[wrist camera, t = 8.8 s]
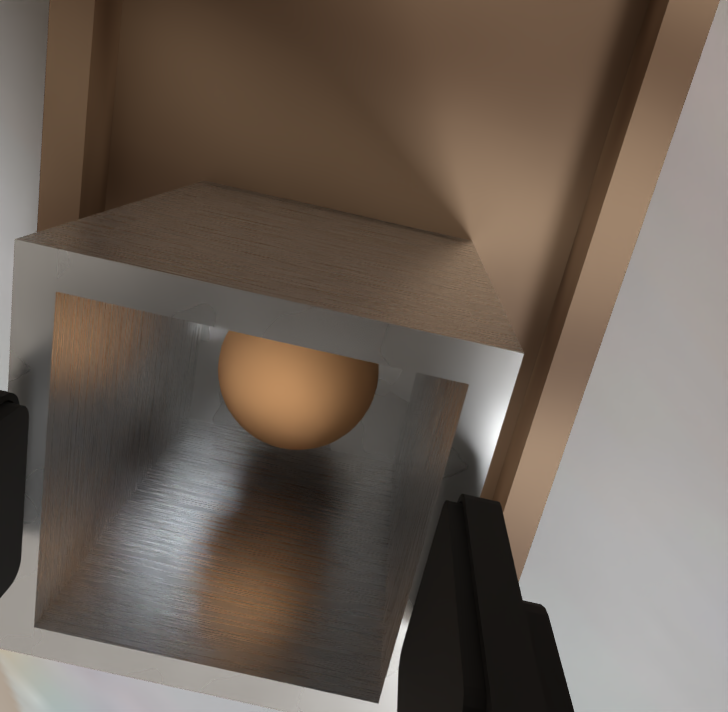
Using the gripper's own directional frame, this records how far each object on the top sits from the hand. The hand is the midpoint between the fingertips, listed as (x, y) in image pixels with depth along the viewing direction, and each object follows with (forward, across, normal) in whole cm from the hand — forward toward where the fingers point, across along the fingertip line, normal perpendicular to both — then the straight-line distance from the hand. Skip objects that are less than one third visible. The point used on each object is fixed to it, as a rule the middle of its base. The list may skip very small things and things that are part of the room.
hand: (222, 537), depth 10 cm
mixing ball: (+9, 0, 0) cm, 9 cm away
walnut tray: (+11, 0, -2) cm, 11 cm away
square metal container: (+10, 0, 0) cm, 10 cm away
